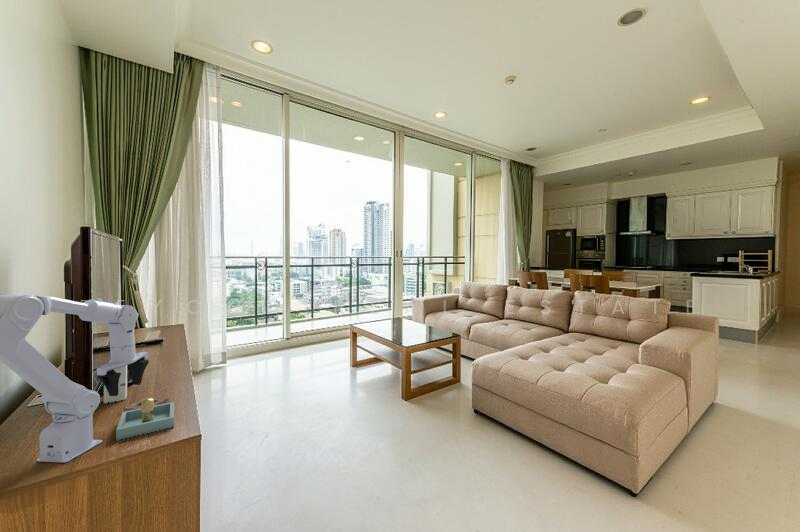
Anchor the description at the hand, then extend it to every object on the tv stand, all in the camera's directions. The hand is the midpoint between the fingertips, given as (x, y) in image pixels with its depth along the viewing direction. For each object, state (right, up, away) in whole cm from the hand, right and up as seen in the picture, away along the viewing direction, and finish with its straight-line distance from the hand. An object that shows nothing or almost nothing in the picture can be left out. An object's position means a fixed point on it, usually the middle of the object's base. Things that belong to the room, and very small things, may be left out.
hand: (125, 389), depth 101 cm
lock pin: (+7, -10, 0) cm, 12 cm away
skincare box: (-18, -10, +18) cm, 27 cm away
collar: (-2, -10, +12) cm, 16 cm away
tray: (+7, -10, 0) cm, 12 cm away
